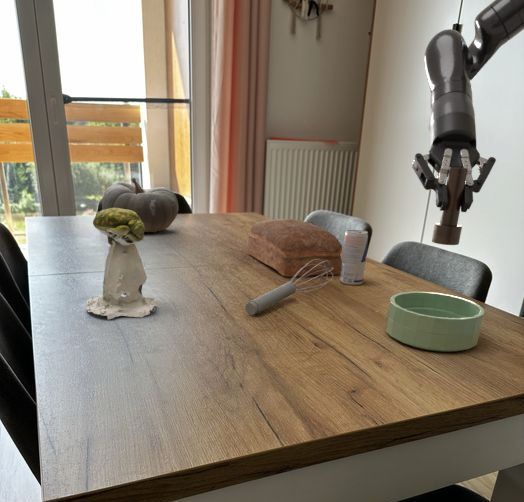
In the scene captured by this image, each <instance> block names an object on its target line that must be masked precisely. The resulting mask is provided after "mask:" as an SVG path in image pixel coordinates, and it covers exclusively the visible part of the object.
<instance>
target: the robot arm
mask: <svg viewBox="0 0 524 502" xmlns="http://www.w3.org/2000/svg"><path fill="white" fill-rule="evenodd" d="M473 23H474V38H473V40H472V41H471V43H470V44H469V45H467V42H466V40H465V38H464V36H463V35H462V34H461V33H460V32H459V31H458V30H455V29H451V28H448V29H443V30H441V31H439V32H437V33H436V34H435V35H434V36H433V37H432V38H431V39H430V41H429V42H428V44H427V46H426V48H425V51H424V58H423V59H424V61H423V62H424V68H425V73H426V78H427V82H428V86H429V90H430V114H429V120H428V121H429V123H428V132H429V133H428V134H429V150H428V152H427V154H424V155H423V154H422V153H419V152H417V153H415V154H414V158H413V161H412V165H411V167H412V169H413V171H414V173H415V175H416V176H417V178H418V180H419V181H420V183H421V185H422V187H423V189H424V190H426V191H430V190H432V191H434V192H435V206H436V208H439V212H442V211H445V209H446V206H447V203H448V197H447V179H448V173H449V168H450V167H460V168H468V170H467V176H466V181H465V186H464V192H463V197H462V202H461V208H460V212H461V213H467V212H468V210H470V209H471V206H472V204H473V203H474V193H475V194H477V193H480V191H481V189H482V188H483V186H484V184H485V182H486V181H487V179H488V177H489V175H490V173H491V171H492V170H493V167H495V166H494V165H495V163H496V162H497V159H496V157H494V156H490V157H489V158H488V159H487V158H485V157H483V156H481V153H480V152H479V150H478V149H477V128H476V127H477V126H476V113H475V112H476V111H475V107H474V103H473V101H474V100H473V88H472V87H473V86H472V83H471V81H473V79H474V78H475V77H476V76H477V75H478V74H479V73H480V71H482V69H483V68H484V67H485V66H486V64H487V63H488V62H489V61H490V60H491V59H492V58H493V57H494V55H496V53H497V51H499V49H500V48H501V47H502V46H504V45H505V44H506V43H509V41H511V40H512V39H513V38H514V37H516V36H517V35H518V34H520V33H521V32H522V31H523V30H524V0H493V1H492V2H491V3H490V4H488V5H487V6H486V7H485V8H483V10H481V11H480V12H479V13H478V14H477V15H476V17H475V18H474V22H473ZM429 165H430V166H429ZM476 166H478V167H477V169H478V173H479V175H478V177H477V179H474V177H473V168H474V167H476ZM430 167H432V168H433V170H434V171H435V172H436V173H437V175H436V176H435V175H434V172H433V171H432V170H431V168H430Z"/></svg>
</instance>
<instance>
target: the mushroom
mask: <svg viewBox="0 0 524 502" xmlns="http://www.w3.org/2000/svg"><path fill="white" fill-rule="evenodd" d="M92 225H93V227H94V228H95V229H96V230H98V231H99V232H100V233H101V234H103V235H105V236H107V242H108V244H109V248H108V251H107V255H106V258H105V263H104V274H103V281H102V294H99V295H97V296H95V297H94V298H88V299H87V300H86V303H85V305H86V308H85V311H87V312H88V313H93V314H94V315H100V316H103V317H104V316H106V317H107V320H111V319H115V318H116V317H117V318H118V317H122V316H124V317H129V318H131V317H132V318H133V317H135V318H143V317H145V316H148V315H151V312H152V311H153V310H154V311H155V312H157V309H156V307H158V300H155V297H152V296H151V297H149V296H143V292H142V291H143V286H144V285H145V284H146V282H147V280H148V276H147V273H146V270H145V267H146V265H145V264H146V263H145V262H144V261H142V258H141V255H140V252H139V250H138V247H137V244H136V243H138V242H141V241H143V240H144V238H145V233H144V232H145V227H144V224H143V222H142V221H141V219H140V218H139V216H138V215H137V214H136V213H135V212H133V211H131V210H127V209H121V208H110V209H106V210H103V209H101V210H100V211H97V212H96V213H95V216H94V218H93V221H92ZM104 254H106V252H105V253H104Z"/></svg>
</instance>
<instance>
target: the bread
mask: <svg viewBox="0 0 524 502" xmlns="http://www.w3.org/2000/svg"><path fill="white" fill-rule="evenodd" d="M246 251H247V253H248V254H249V255H250V256H252V257H253V258H255V259H257V260H258V261H259V262H261V263H263V264H265V265H267V266H268V267H270V268H272V269H274V270H275V271H277V272H278V274H280V275H281V276H283V277H288V278H289V277H290V278H294V277H295V276H296V275H297V276H296V277H302V276H303V275H304V274H305V273H306V274H305V275H304V276H303V277H305V276H307V275H309V276H307V277H310V276H319V275H321V276H322V274H324V272H325V274H324V275H323V276H327V274H328V276H331V275H332V274H333V275H332V276H334V275H338V274H341V267H342V256H341V254H342V252H343V245H342V243H341V242H340V241H339V239H338V237H337V236H336V235H334V234H332V233H331V232H330V231H328V230H326V229H324V228H323V227H321V226H318V225H315V224H313V223H311V222H308V221H304V220H301V219H294V218H276V219H275V218H273V219H263V220H261V221H258V222H256V223H255V224H253V225H251V226H250V228H249V230H248V238H247V240H246ZM314 259H319V260H314ZM312 260H313V261H312ZM320 260H322V261H320ZM310 261H311V262H310ZM323 261H325V262H323ZM328 261H329V265H328ZM309 262H310V263H309ZM321 262H323V263H321ZM307 263H308V264H307ZM319 263H321V264H319ZM306 264H307V265H309V266H307V265H306ZM311 264H317V266H316V265H311ZM318 264H319V265H321V266H319V265H318ZM324 264H325V266H326V268H330V269H328V270H331V269H332V270H331V272H332V274H331V272H330V271H329V272H328V270H327V273H326V271H325V270H323V269H326V268H324V267H325V266H324ZM305 265H306V267H304V266H305ZM315 266H316V267H315ZM322 266H323V267H322ZM327 266H328V267H327ZM303 267H304V268H303ZM313 267H314V268H313ZM302 268H303V269H302ZM312 268H313V269H312ZM300 269H302V270H301V271H300V272H299V273H298V274H296V273H297V272H298V271H299V270H300ZM311 269H312V270H311ZM309 270H310V271H309ZM320 270H322V271H320ZM308 271H309V272H308ZM317 271H319V272H317ZM307 272H308V273H307ZM314 272H316V273H314ZM312 273H313V274H312ZM295 274H296V275H295ZM310 274H311V275H310ZM294 275H295V276H294ZM293 276H294V277H293Z"/></svg>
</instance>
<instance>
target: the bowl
mask: <svg viewBox="0 0 524 502" xmlns="http://www.w3.org/2000/svg"><path fill="white" fill-rule="evenodd" d="M388 302H389V303H388V309H387V314H386V315H387V316H386V322H385V330H386V333H387V334H388V335H389V336H390V337H391V338H393V339H395V340H397V341H398V342H401V343H403V344H405V345H407V346H410V347H413V348H417V349H420V350H426V351H432V352H443V353H445V352H446V353H447V352H448V353H450V352H459V351H464V350H470V349H473V348H474V347H476V346H477V345H478V343H479V340H480V339H479V338H480V335H481V331H482V326H483V321H484V317H485V313H486V310H485V309H484V308H483V307H482V306H481V305H479V304H478V303H476V302H474V301H472V300H469V299H466V298H463V297H460V296H455V295H451V294H446V293H440V292H432V291H431V292H430V291H405V292H399V293H395V294H393V295H392V296H391V297H390V298H389V301H388Z"/></svg>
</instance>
